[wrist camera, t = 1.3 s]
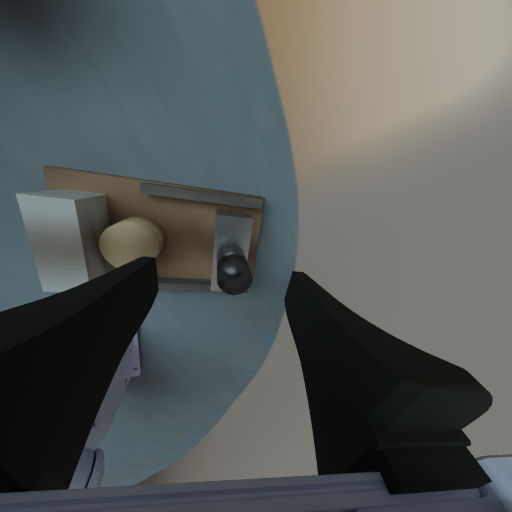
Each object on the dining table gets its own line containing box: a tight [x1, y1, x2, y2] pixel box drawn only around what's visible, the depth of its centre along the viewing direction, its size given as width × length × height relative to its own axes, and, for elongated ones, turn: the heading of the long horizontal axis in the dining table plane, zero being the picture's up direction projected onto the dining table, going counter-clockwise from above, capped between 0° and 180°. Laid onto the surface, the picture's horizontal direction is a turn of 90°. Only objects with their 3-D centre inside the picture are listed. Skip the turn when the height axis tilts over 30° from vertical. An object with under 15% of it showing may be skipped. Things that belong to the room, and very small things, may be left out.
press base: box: [16, 166, 265, 293], centre depth 17 cm, size 10×18×6 cm, turn 81°
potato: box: [99, 216, 165, 268], centre depth 17 cm, size 4×4×3 cm
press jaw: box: [210, 209, 254, 295], centre depth 16 cm, size 7×3×7 cm, turn 171°
